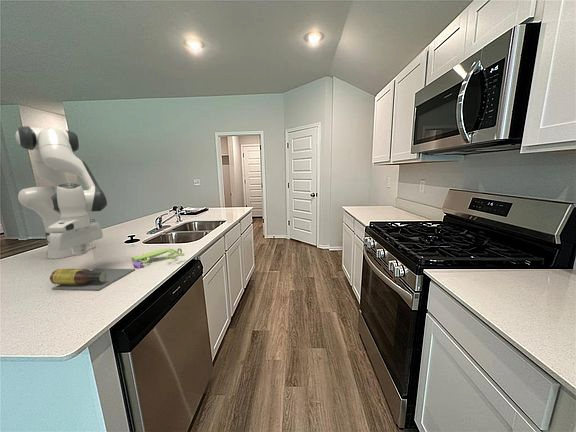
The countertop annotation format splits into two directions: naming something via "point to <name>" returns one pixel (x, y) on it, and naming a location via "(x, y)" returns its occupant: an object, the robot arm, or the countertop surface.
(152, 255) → the figurine
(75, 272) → the sauce bottle
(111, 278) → the rubber mat
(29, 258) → the countertop surface
